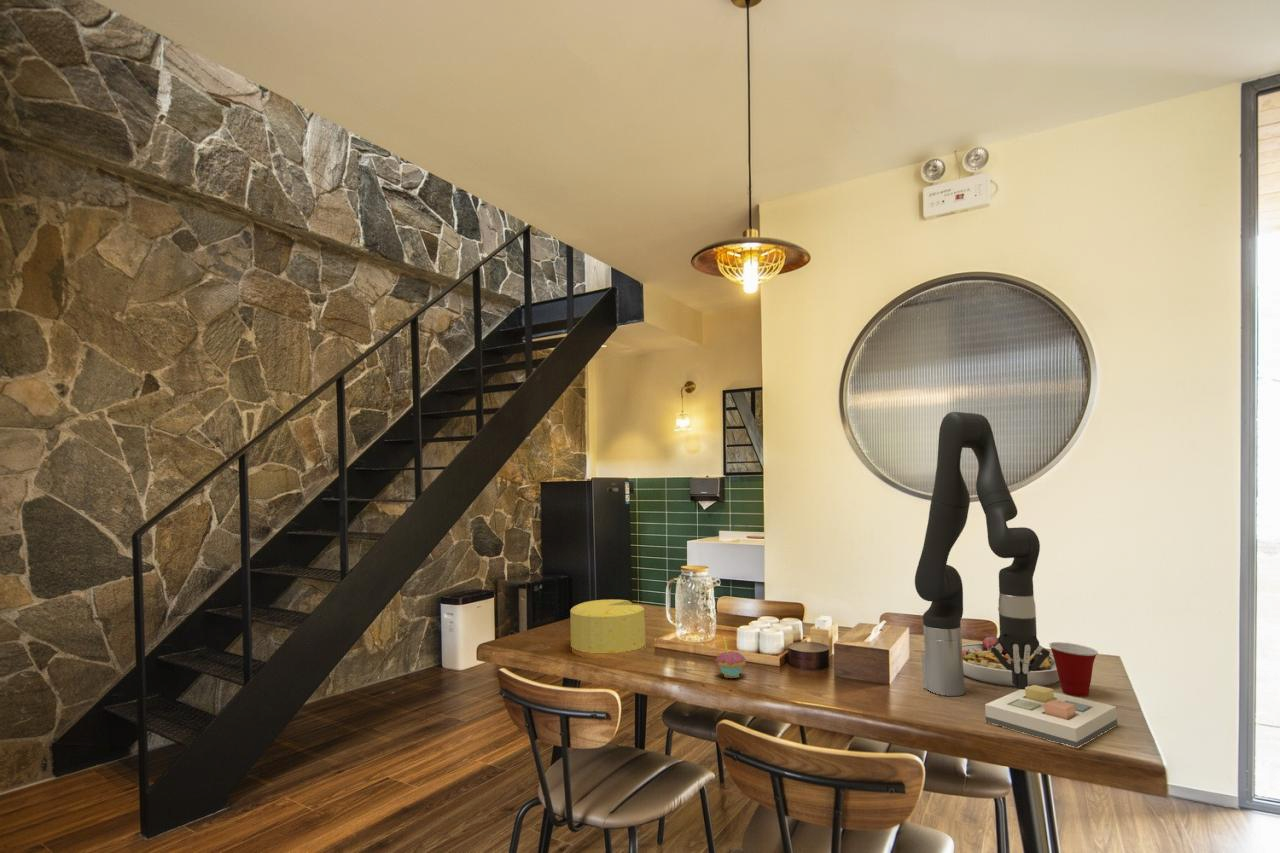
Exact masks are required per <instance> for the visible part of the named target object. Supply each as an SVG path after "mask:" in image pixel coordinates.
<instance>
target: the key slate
mask: <svg viewBox="0 0 1280 853" xmlns="http://www.w3.org/2000/svg"><path fill="white" fill-rule="evenodd" d="M1066 703H1070V704H1074V705H1075V711H1079V712H1085V711H1087V710H1089V709H1090V706H1086V705H1082V704H1078V703H1073V702H1069V701H1068V702H1066Z"/></svg>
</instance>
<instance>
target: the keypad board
mask: <svg viewBox="0 0 1280 853" xmlns="http://www.w3.org/2000/svg"><path fill="white" fill-rule="evenodd" d="M1027 687H1030V686H1027ZM1027 687H1025V688H1027ZM1018 700H1022V701H1026V702H1030V703H1034V704H1038V705H1039V708H1037V709H1034V710H1032V711H1031V710H1027V709H1023V708H1019V707H1015V706H1012V705H1010V704H1011V703H1014V702H1016V701H1018ZM1054 700H1058V701H1062V702H1068V701H1069V702H1073V703H1078V704H1082V705H1086V706H1090V709H1089V710H1087V711H1085V712H1079V711H1075V715H1076V716H1074V717H1072V718H1070V719H1068V720H1065V719H1061V718H1058V717H1054V716H1050V715H1046V714H1045V707H1044V703H1043V702H1039V701H1035V700H1031V699H1027V698H1026V693H1025V690H1022V689H1017V690H1016V691H1013V692H1011V693H1008V694H1007V695H1004V696H1002V697H1001V696H1000V697H999V698H997V699H995V700H992V701H990V702H988V703H985V704H984V708H985V711H984V712H985V713H984V714H985V722H986V721H987V722H990V723H994V724H998V725H1001V726H1004V727H1007V728H1010V729H1014V730H1017V731H1020V732H1024V733H1027V734H1030V735H1034V736H1038V737H1041V738H1045V739H1048V740H1051V741H1055V742H1059V743H1064V744H1068V745H1071V746H1074V747H1078V746H1080V745H1082V744H1084V743H1086V742H1088V741H1090V740H1091V739H1093V738H1095V737H1097V736H1098V735H1100V734H1101V733H1104V732H1105V731H1107V730H1109V729H1110V728H1112V727H1114V726H1116V725H1118V716H1117V706H1115V705H1111V704H1107V703H1102V702H1098V701H1093V700H1089V699H1085V698H1081V697H1078V696H1072V695H1068V694H1065V693H1060V692H1055V691H1054ZM1116 727H1117V726H1116ZM1114 728H1115V727H1114ZM1109 731H1110V730H1109ZM1104 734H1105V733H1104ZM1097 738H1098V737H1097Z"/></svg>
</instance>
